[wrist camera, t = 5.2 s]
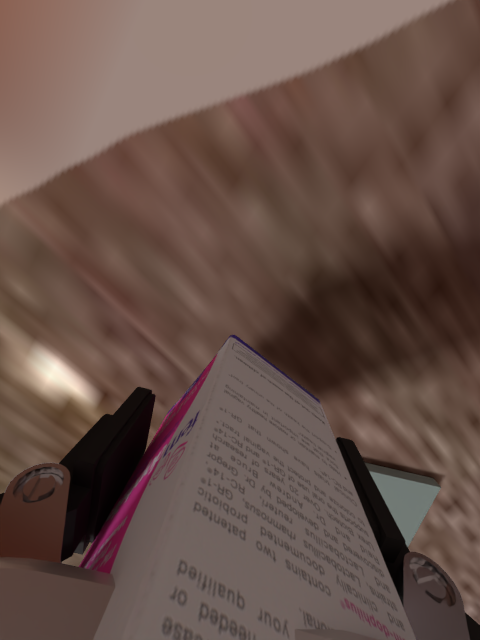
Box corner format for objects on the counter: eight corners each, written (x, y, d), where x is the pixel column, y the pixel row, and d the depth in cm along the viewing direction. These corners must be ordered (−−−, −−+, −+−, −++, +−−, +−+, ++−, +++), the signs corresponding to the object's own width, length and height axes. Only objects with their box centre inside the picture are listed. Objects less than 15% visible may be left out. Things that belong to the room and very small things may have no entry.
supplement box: (228, 328, 13) (49, 866, 2) (321, 399, 13) (655, 1123, 2) (162, 410, 14) (-189, 1016, 3) (250, 470, 15) (237, 1150, 4)
